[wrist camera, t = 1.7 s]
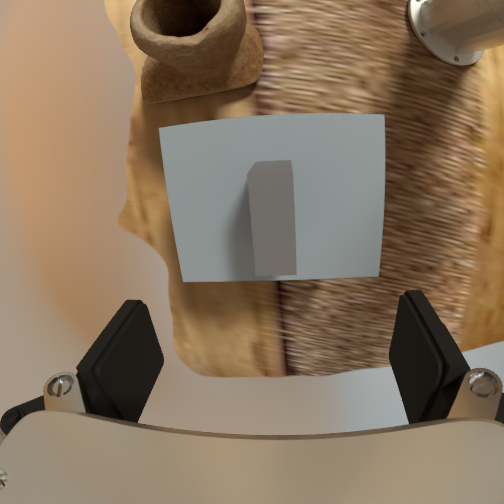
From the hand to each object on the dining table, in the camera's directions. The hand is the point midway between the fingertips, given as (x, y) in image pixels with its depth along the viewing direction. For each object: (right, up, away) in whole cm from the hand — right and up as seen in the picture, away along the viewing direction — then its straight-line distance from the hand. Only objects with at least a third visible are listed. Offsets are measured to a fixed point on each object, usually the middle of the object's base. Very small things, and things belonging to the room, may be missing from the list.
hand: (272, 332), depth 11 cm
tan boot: (-7, +28, +22) cm, 36 cm away
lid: (+1, +7, +16) cm, 17 cm away
